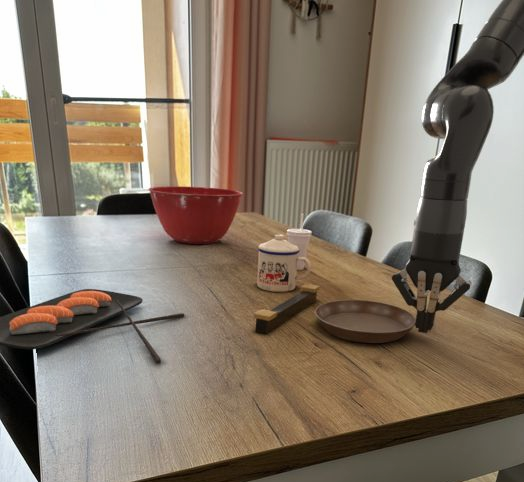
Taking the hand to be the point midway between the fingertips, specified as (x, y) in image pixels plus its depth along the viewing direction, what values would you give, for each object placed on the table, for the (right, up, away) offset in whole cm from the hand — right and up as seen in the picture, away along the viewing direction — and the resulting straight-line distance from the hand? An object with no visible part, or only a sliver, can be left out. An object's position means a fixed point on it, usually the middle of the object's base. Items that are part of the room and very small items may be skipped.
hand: (423, 331), depth 87 cm
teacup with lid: (-23, +11, +28) cm, 38 cm away
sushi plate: (-54, 0, -3) cm, 54 cm away
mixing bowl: (-49, +31, +76) cm, 95 cm away
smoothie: (-18, +18, +47) cm, 54 cm away
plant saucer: (-9, 0, +5) cm, 10 cm away
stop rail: (-22, +3, +10) cm, 25 cm away
